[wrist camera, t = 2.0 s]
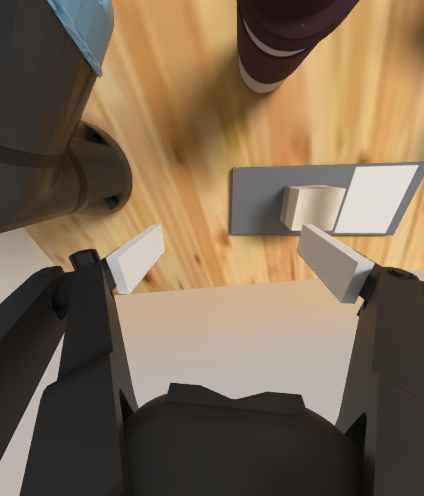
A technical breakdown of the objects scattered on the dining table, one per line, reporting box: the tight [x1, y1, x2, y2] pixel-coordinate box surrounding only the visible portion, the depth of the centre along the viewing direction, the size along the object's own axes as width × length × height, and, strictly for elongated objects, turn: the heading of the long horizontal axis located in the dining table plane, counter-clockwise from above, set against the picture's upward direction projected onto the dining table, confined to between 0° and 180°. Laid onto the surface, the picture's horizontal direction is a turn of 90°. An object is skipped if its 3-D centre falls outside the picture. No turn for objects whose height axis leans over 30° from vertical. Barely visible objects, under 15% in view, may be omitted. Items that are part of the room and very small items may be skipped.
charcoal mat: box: [231, 162, 424, 235], centre depth 28 cm, size 30×12×1 cm, turn 91°
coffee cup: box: [237, 0, 359, 93], centre depth 15 cm, size 10×10×15 cm
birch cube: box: [280, 185, 346, 231], centre depth 25 cm, size 6×6×6 cm
